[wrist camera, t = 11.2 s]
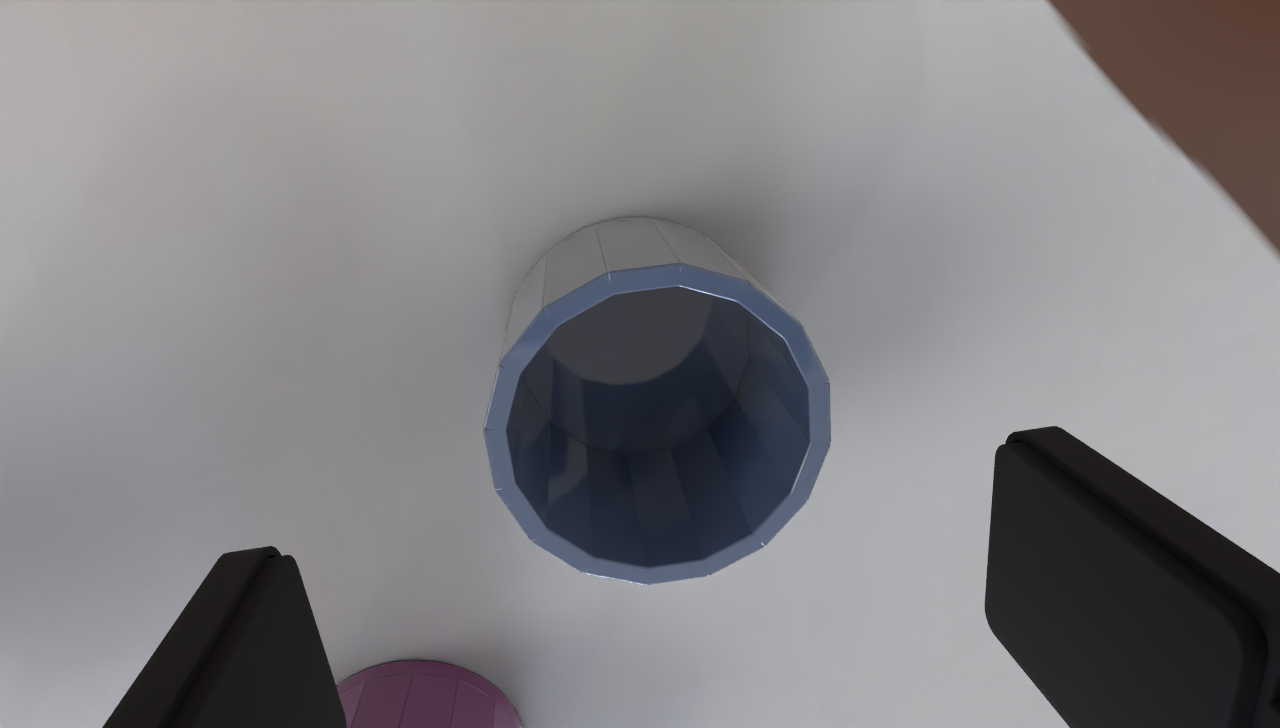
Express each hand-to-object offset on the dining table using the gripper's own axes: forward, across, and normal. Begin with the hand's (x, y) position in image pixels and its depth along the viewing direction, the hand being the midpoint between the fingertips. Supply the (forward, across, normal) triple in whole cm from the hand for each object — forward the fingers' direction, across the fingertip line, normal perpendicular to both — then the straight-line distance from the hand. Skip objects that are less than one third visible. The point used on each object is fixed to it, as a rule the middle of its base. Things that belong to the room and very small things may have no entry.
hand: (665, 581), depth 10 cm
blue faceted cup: (+11, -1, 0) cm, 11 cm away
